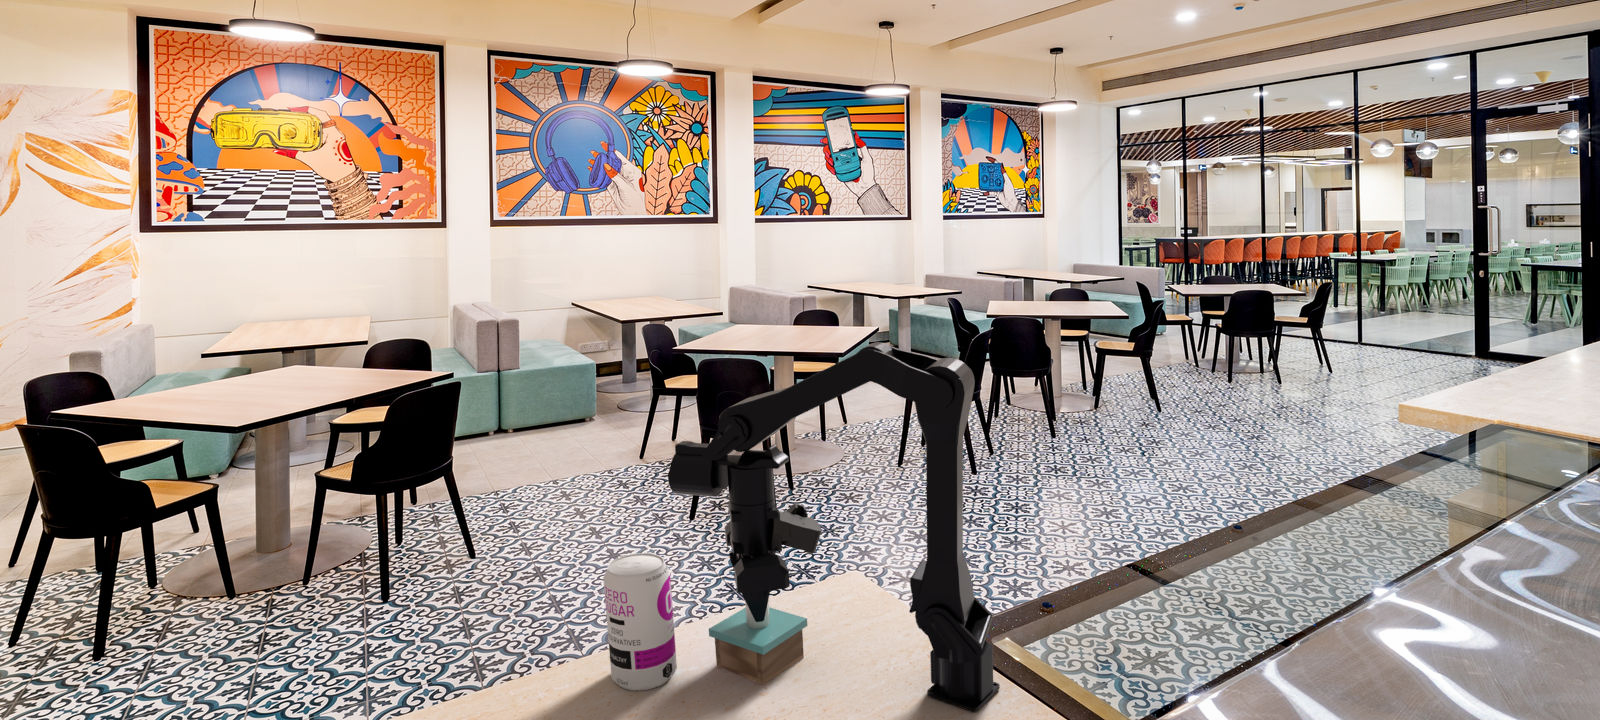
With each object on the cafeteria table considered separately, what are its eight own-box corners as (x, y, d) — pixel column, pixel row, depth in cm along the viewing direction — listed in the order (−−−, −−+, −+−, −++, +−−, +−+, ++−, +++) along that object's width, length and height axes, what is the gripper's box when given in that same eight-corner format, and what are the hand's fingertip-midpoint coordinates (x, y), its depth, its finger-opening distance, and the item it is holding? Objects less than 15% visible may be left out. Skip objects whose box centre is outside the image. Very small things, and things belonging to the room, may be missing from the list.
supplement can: (683, 659, 113) (675, 551, 111) (667, 693, 105) (659, 577, 102) (623, 659, 114) (614, 551, 111) (603, 693, 106) (593, 577, 103)
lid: (807, 633, 112) (805, 589, 111) (763, 662, 105) (761, 616, 104) (754, 616, 117) (752, 574, 116) (709, 643, 110) (706, 599, 109)
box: (803, 659, 112) (802, 627, 111) (763, 686, 106) (761, 652, 105) (758, 643, 117) (756, 612, 116) (716, 668, 111) (714, 635, 110)
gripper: (829, 516, 100) (834, 641, 103) (802, 472, 118) (807, 580, 121) (734, 525, 98) (741, 653, 101) (721, 480, 117) (728, 588, 119)
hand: (758, 615), depth 110 cm, fingers closed on lid, 3 cm apart
